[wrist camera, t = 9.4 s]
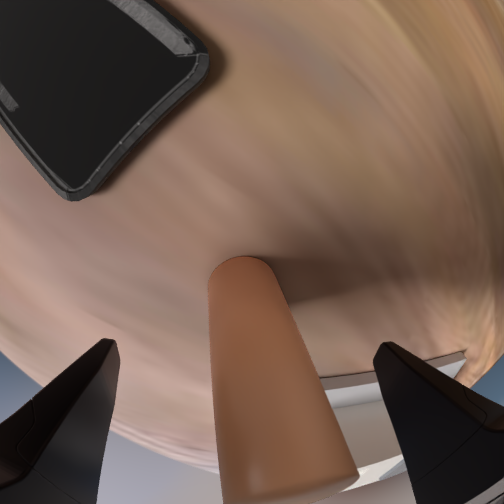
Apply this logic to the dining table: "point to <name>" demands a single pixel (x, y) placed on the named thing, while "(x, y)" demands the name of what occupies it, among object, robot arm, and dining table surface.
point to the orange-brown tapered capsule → (269, 396)
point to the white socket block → (371, 441)
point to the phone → (90, 82)
